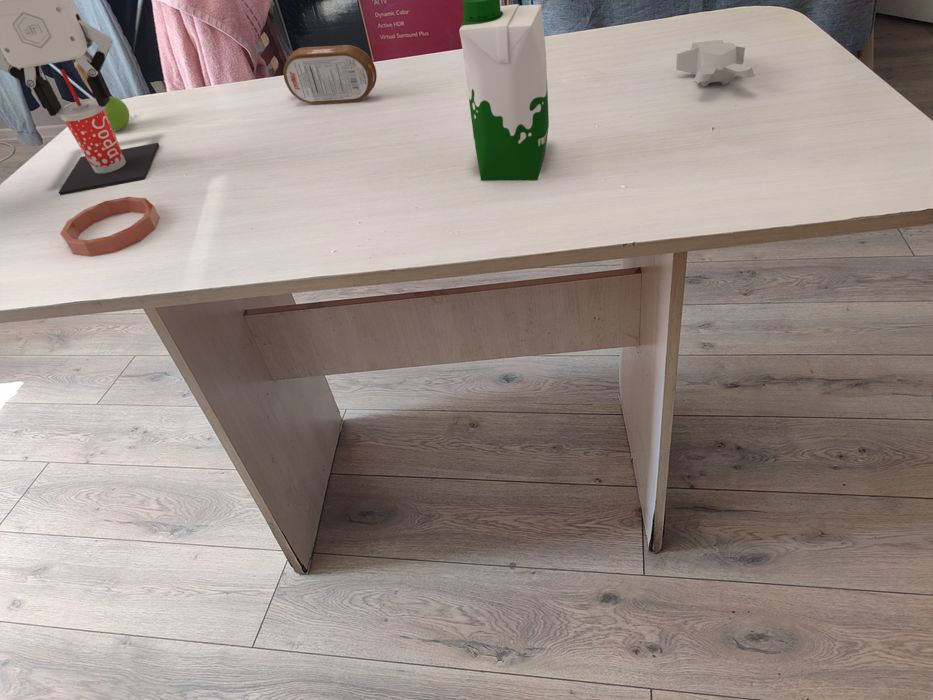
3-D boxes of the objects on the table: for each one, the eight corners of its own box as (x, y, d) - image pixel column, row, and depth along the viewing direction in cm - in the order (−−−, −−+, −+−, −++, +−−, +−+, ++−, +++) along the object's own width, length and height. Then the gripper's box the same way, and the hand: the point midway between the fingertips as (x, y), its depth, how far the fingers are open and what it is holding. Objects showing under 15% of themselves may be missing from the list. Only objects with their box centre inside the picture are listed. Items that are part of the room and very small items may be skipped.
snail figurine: (120, 120, 116) (86, 47, 109) (141, 125, 113) (108, 50, 105) (92, 132, 113) (55, 59, 106) (113, 138, 110) (76, 63, 102)
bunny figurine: (737, 31, 101) (765, 52, 89) (734, 67, 104) (760, 93, 91) (672, 38, 102) (690, 59, 90) (670, 73, 105) (687, 99, 93)
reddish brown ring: (63, 271, 79) (50, 250, 77) (86, 227, 87) (74, 206, 85) (153, 254, 80) (142, 232, 78) (168, 211, 88) (158, 190, 86)
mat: (60, 195, 96) (58, 192, 95) (82, 159, 105) (80, 156, 104) (144, 179, 96) (143, 176, 96) (159, 145, 105) (158, 142, 105)
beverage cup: (99, 179, 97) (48, 81, 88) (82, 169, 100) (31, 74, 91) (138, 162, 100) (93, 65, 91) (120, 153, 104) (74, 59, 94)
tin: (381, 95, 110) (370, 41, 105) (376, 102, 108) (365, 48, 102) (296, 99, 113) (281, 47, 108) (289, 107, 111) (274, 54, 106)
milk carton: (486, 152, 90) (468, -14, 76) (554, 151, 87) (547, -20, 74) (472, 184, 83) (449, 10, 70) (545, 184, 81) (536, 4, 68)
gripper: (-77, -18, 79) (9, 129, 91) (71, -43, 80) (137, 106, 92) (-51, -31, 85) (27, 109, 97) (87, -54, 86) (147, 87, 98)
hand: (80, 106), depth 94 cm, fingers closed on beverage cup, 6 cm apart
